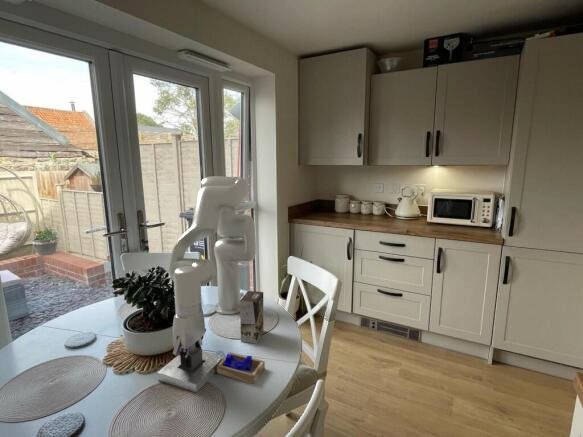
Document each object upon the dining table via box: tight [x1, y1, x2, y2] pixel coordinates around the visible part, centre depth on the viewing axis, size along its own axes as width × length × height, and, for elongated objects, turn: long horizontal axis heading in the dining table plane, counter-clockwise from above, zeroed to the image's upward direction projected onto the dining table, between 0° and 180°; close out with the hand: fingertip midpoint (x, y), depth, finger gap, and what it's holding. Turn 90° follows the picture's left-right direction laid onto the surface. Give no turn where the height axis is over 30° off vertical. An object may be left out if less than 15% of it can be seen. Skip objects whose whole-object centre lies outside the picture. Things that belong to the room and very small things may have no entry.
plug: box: [180, 343, 203, 373], centre depth 99 cm, size 5×5×10 cm
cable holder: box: [224, 353, 253, 372], centre depth 101 cm, size 8×4×4 cm, turn 83°
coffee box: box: [239, 290, 265, 344], centre depth 119 cm, size 9×6×16 cm
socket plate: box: [157, 350, 225, 393], centre depth 100 cm, size 14×14×3 cm
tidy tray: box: [216, 352, 266, 384], centre depth 100 cm, size 8×13×2 cm, turn 69°
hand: (191, 361), depth 99 cm, fingers closed on plug, 4 cm apart
